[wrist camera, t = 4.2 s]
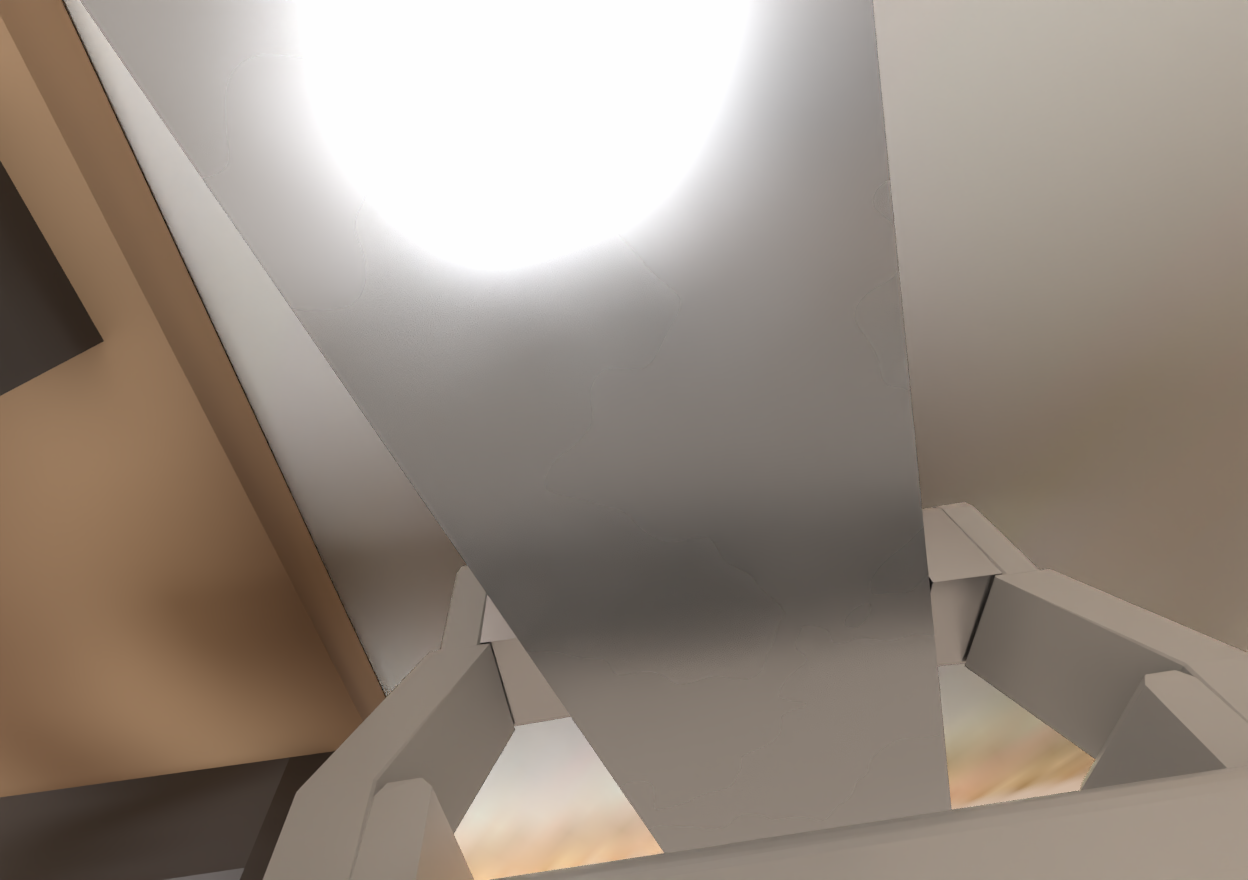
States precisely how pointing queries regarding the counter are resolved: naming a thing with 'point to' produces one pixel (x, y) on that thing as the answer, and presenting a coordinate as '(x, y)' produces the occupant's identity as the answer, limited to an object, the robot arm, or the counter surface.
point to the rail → (614, 354)
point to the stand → (138, 526)
